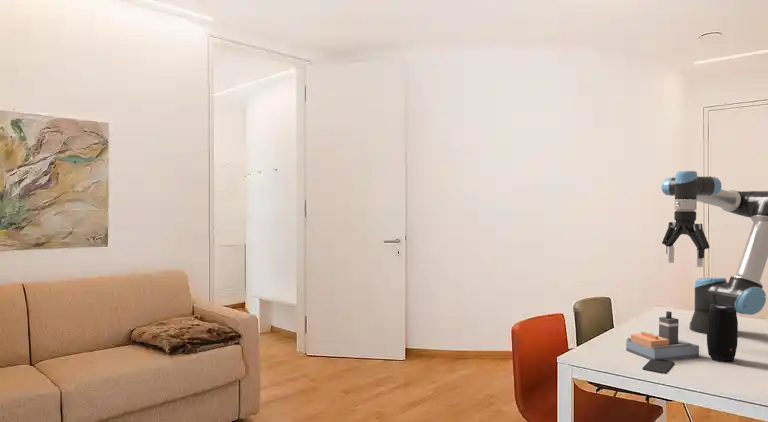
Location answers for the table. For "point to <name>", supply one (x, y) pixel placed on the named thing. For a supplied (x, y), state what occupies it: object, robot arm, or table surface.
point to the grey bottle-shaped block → (669, 328)
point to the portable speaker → (722, 332)
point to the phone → (658, 366)
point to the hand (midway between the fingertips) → (684, 264)
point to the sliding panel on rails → (664, 350)
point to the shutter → (649, 340)
